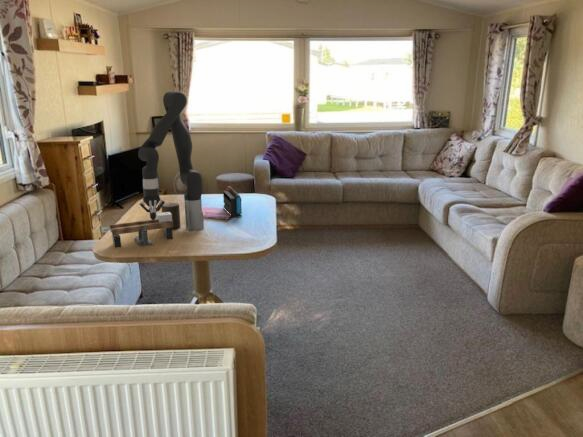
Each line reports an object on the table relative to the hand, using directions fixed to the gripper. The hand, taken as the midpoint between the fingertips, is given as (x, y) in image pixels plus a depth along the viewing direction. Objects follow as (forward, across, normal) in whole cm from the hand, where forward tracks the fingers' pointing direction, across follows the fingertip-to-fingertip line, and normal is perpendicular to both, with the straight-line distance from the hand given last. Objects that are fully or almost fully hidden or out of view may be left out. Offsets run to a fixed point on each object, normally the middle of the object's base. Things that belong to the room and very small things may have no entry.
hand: (153, 219), depth 243 cm
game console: (+11, -55, -28) cm, 62 cm away
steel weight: (+3, -6, 0) cm, 6 cm away
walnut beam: (+3, +6, 0) cm, 7 cm away
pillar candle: (+11, -13, -16) cm, 24 cm away
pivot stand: (+11, +6, 0) cm, 13 cm away
